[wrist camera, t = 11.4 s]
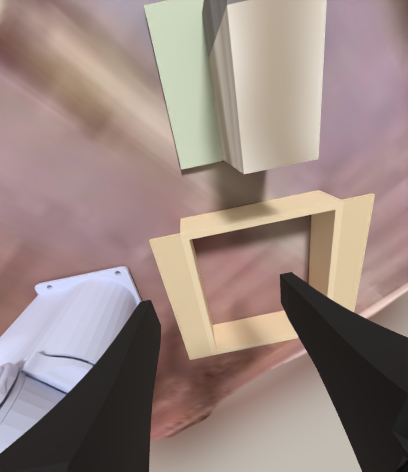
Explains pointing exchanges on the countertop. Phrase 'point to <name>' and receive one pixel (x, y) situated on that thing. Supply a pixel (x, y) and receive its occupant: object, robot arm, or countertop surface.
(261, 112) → the box
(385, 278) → the countertop surface
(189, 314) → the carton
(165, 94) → the mat
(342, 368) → the robot arm
